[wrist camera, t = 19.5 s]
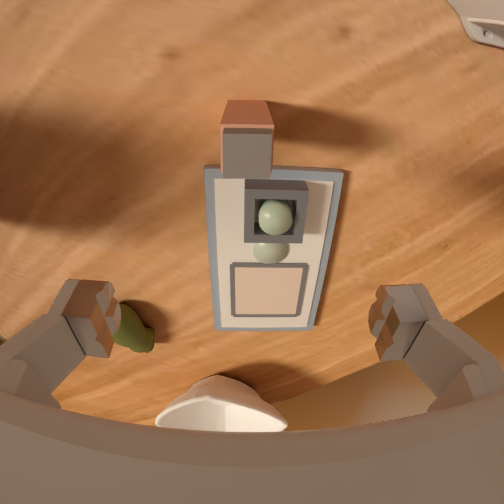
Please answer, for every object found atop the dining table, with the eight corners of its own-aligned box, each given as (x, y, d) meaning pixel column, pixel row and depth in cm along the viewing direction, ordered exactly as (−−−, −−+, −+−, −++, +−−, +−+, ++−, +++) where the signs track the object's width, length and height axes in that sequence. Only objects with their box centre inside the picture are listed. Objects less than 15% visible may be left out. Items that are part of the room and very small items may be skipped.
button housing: (304, 180, 31) (308, 190, 29) (299, 230, 35) (302, 243, 33) (244, 178, 31) (244, 189, 29) (243, 230, 35) (243, 242, 33)
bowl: (211, 342, 48) (207, 390, 41) (298, 385, 57) (303, 425, 50) (148, 386, 57) (141, 423, 50) (229, 418, 66) (228, 451, 59)
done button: (290, 195, 32) (293, 206, 30) (288, 222, 34) (290, 235, 32) (258, 194, 32) (259, 206, 30) (257, 222, 33) (258, 234, 32)
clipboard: (341, 169, 32) (344, 174, 31) (311, 325, 46) (312, 332, 45) (205, 165, 32) (203, 170, 30) (215, 325, 46) (214, 332, 45)
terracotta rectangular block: (265, 100, 28) (276, 130, 18) (264, 135, 30) (273, 182, 21) (228, 100, 28) (218, 129, 18) (228, 134, 30) (219, 181, 20)
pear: (121, 325, 38) (162, 358, 45) (127, 292, 41) (164, 328, 48) (90, 332, 39) (132, 363, 46) (98, 301, 42) (136, 334, 49)
